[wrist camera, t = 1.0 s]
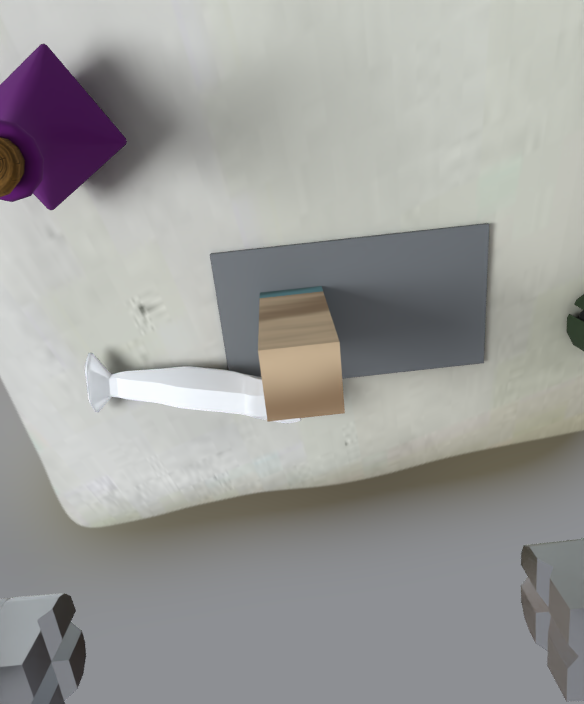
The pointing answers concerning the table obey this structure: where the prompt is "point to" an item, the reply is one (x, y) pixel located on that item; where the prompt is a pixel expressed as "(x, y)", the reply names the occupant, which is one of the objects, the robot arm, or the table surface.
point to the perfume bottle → (50, 132)
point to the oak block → (299, 355)
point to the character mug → (577, 325)
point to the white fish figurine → (179, 388)
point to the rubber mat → (368, 297)
